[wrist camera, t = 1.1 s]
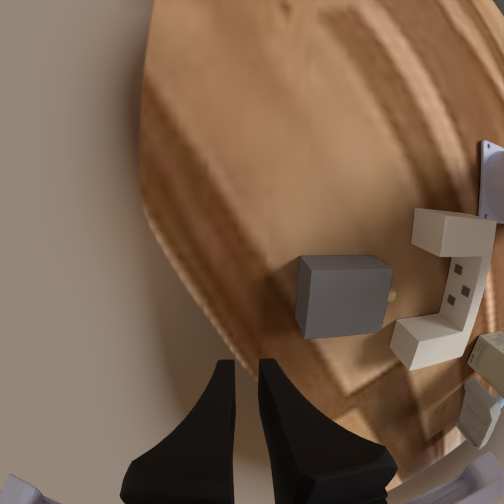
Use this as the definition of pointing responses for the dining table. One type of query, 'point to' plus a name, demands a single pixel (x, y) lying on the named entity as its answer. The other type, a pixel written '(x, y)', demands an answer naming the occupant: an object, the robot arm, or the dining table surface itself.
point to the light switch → (477, 414)
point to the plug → (342, 295)
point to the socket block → (447, 287)
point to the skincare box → (489, 359)
